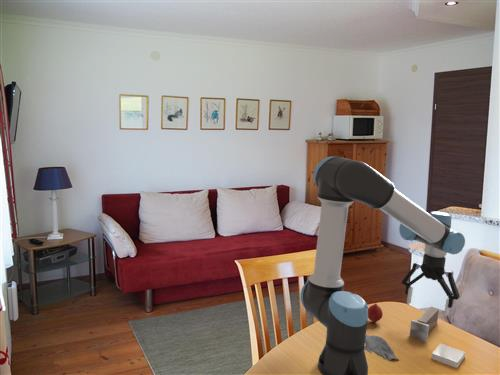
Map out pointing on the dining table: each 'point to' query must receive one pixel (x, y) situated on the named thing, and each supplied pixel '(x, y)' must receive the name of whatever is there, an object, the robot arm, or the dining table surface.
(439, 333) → the dining table surface
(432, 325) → the scraper
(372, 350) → the stone slab
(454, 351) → the tile
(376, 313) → the onion
